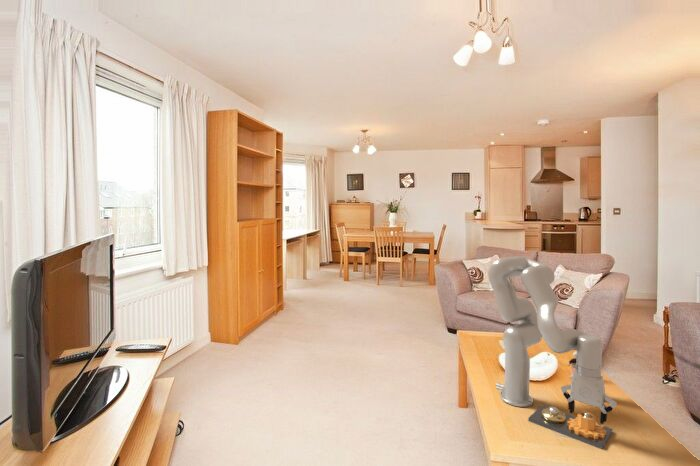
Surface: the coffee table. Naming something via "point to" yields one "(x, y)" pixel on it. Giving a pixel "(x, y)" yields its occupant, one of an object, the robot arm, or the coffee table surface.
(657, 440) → the coffee table surface
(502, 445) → the coffee table surface
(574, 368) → the grandmother figurine
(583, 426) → the planet gear
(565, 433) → the carrier plate
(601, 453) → the coffee table surface
